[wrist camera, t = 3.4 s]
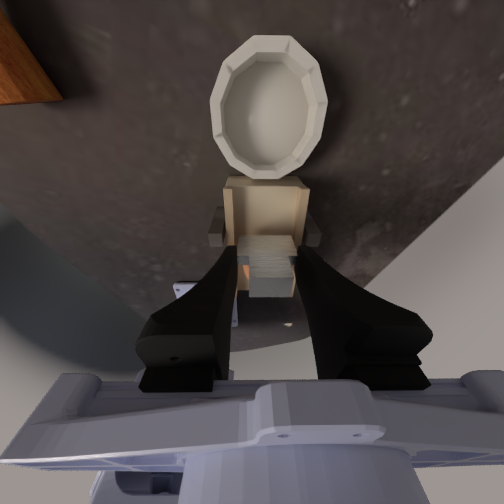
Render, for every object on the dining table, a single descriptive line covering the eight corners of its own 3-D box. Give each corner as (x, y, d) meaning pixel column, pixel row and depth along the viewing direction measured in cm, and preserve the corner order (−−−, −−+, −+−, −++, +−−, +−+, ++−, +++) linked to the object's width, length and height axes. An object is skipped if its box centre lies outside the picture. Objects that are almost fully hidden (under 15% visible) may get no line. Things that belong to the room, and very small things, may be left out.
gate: (289, 248, 15) (303, 296, 11) (239, 248, 15) (235, 297, 11) (291, 230, 14) (309, 277, 10) (238, 230, 14) (234, 277, 10)
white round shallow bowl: (304, 171, 16) (312, 179, 14) (221, 170, 16) (217, 178, 14) (325, 50, 12) (340, 36, 10) (211, 48, 12) (203, 34, 10)
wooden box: (295, 263, 22) (305, 298, 18) (223, 263, 22) (217, 298, 18) (312, 174, 16) (334, 194, 12) (213, 173, 16) (200, 194, 12)
